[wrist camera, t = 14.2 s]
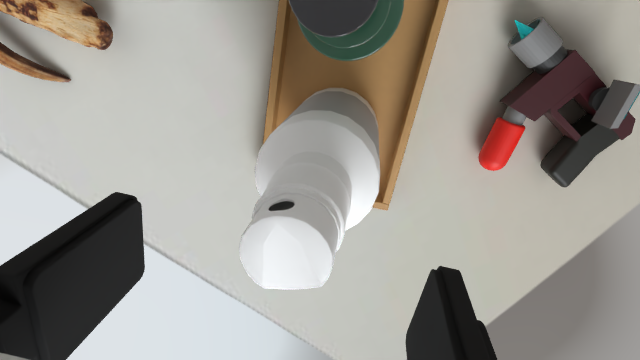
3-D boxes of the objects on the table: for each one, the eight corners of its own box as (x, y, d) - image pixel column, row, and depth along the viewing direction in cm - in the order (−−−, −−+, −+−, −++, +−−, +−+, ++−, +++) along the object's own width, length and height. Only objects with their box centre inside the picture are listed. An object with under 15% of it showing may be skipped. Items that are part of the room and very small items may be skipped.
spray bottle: (373, 80, 27) (372, 156, 10) (382, 163, 29) (392, 331, 13) (288, 93, 28) (167, 178, 12) (303, 171, 31) (220, 333, 14)
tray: (307, -175, 22) (300, -195, 20) (485, -147, 21) (496, -165, 19) (265, 173, 32) (258, 182, 30) (386, 199, 31) (387, 210, 29)
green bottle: (334, -27, 24) (257, -139, 8) (399, -15, 24) (448, -108, 8) (322, 43, 26) (241, 59, 10) (382, 55, 26) (396, 91, 10)
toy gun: (528, 0, 24) (563, -8, 20) (633, 119, 26) (687, 137, 21) (420, 104, 28) (429, 117, 23) (519, 201, 30) (545, 231, 25)
